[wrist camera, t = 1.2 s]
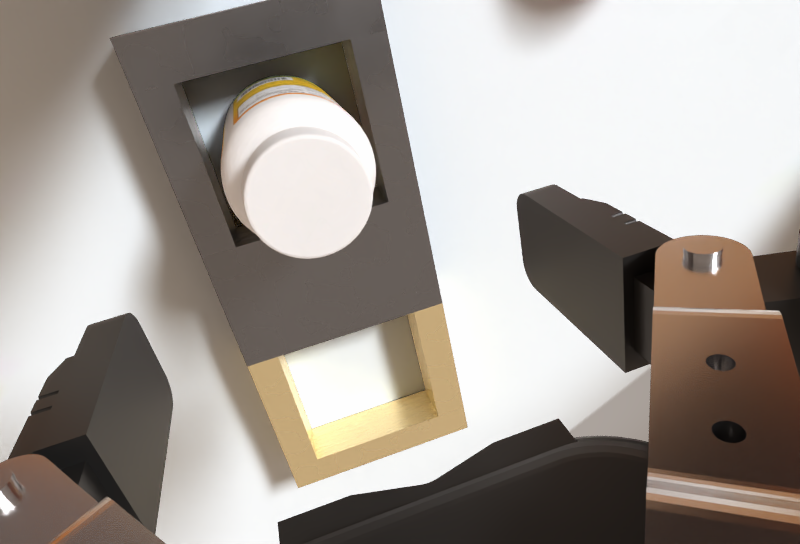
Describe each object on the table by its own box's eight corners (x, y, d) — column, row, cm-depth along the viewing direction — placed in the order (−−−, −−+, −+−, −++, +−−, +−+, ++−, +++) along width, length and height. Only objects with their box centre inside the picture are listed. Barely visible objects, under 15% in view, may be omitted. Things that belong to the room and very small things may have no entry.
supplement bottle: (312, 211, 28) (346, 303, 19) (203, 162, 25) (188, 242, 17) (364, 110, 26) (426, 161, 18) (255, 49, 24) (265, 74, 16)
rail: (362, -23, 24) (375, -26, 22) (452, 400, 35) (467, 427, 33) (121, 34, 23) (109, 38, 20) (294, 456, 34) (298, 488, 31)
